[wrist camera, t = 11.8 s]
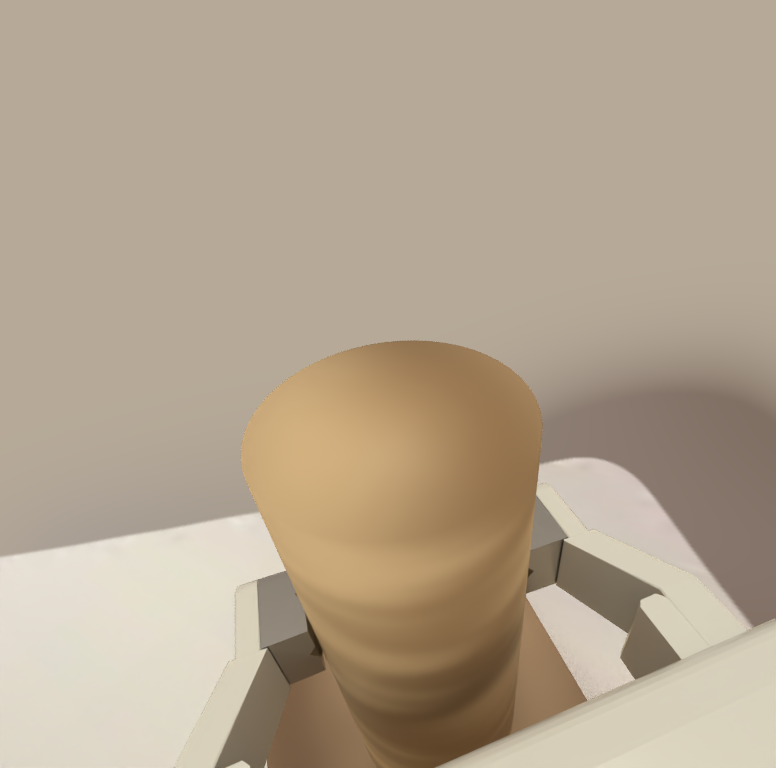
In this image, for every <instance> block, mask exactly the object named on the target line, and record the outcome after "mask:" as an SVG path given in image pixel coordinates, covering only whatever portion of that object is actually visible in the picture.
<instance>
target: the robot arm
mask: <svg viewBox="0 0 776 768" xmlns="http://www.w3.org/2000/svg"><path fill="white" fill-rule="evenodd" d="M555 583H557V584H556V585H557V586H558V587H560V588H561V589H563V590H564V591H566V592H567V593H569V594H570V595H572V596H573V597H575V598H576V599H578V600H579V601H581V602H582V603H584V604H585V605H587V606H588V607H590V608H591V609H593V610H594V611H596V612H597V613H598V614H600V615H601V616H603V617H604V618H606V619H607V620H609V621H610V622H612V623H613V624H615V625H616V626H618V627H619V628H621V629H622V630H624V631H625V632H627V633H628V635H627V638H626V640H625V643H624V646H623V648H622V651H621V657H620V658H621V659H622V661H623V662H624V664H625V665H626V667H627V668H628V670H629V671H630V673H631V674H632V676H633V677H634V678H635V680H633V681H631V682H629V683H627V684H624V685H622V686H620V687H618V688H615V689H613V690H611V691H608V692H606V693H604V694H602V695H599V696H597V697H595V698H592V699H590V700H588V701H586V702H583V703H581V704H579V705H577V706H574V707H572V708H570V709H567V710H565V711H563V712H561V713H558V714H556V715H554V716H551V717H549V718H547V719H545V720H542V721H540V722H538V723H535V724H533V725H531V726H529V727H526V728H524V729H522V730H520V731H517V732H515V733H513V734H510V735H508V736H506V737H504V738H501V739H499V740H497V741H494V742H492V743H490V744H488V745H485V746H483V747H481V748H479V749H476V750H474V751H472V752H469V753H467V754H465V755H463V756H460V757H458V758H456V759H453V760H451V761H449V762H447V763H444V764H442V765H440V766H437V767H435V768H776V618H775V619H773V620H770V621H768V622H766V623H763V624H761V625H759V626H757V627H754V628H752V629H750V630H747V629H746V628H745V627H744V626H743V625H742V624H741V623H740V622H739V621H738V620H737V619H736V618H735V617H734V616H733V615H732V613H731V612H730V611H729V610H728V609H727V608H726V607H725V606H724V605H723V604H722V603H721V602H720V601H719V600H718V599H717V598H716V597H715V596H714V595H713V594H712V593H711V592H710V591H709V590H708V589H707V588H706V587H705V586H704V585H703V584H702V583H701V582H700V581H699V580H698V579H697V578H696V576H694V575H691V574H689V573H687V572H685V571H683V570H681V569H679V568H676V567H674V566H672V565H670V564H668V563H666V562H664V561H661V560H659V559H657V558H655V557H653V556H651V555H649V554H646V553H644V552H642V551H640V550H638V549H636V548H634V547H631V546H629V545H627V544H625V543H623V542H621V541H619V540H616V539H614V538H612V537H610V536H608V535H606V534H604V533H601V532H599V531H597V530H595V529H591V530H587V528H586V527H585V526H584V525H583V524H582V522H581V521H580V520H579V519H578V518H577V516H576V515H575V514H574V513H573V512H572V510H571V509H570V508H569V507H568V506H567V505H566V503H565V502H564V501H563V500H562V499H561V497H560V496H559V495H558V494H557V493H556V491H555V490H554V489H553V488H552V487H551V485H549V484H547V483H542V484H539V485H537V491H536V500H535V510H534V520H533V530H532V539H531V549H530V559H529V569H528V578H527V588H526V594H527V593H529V592H532V591H535V590H538V589H541V588H544V587H547V586H549V585H552V584H555ZM325 670H326V668H325V662H324V656H323V651H322V648H321V646H320V644H319V642H318V640H317V637H316V635H315V633H314V631H313V629H312V626H311V624H310V622H309V620H308V617H307V615H306V613H305V611H304V609H303V606H302V604H301V602H300V600H299V598H298V595H297V593H296V591H295V589H294V587H293V584H292V582H291V580H290V578H289V575H288V573H287V571H283V572H280V573H277V574H274V575H271V576H268V577H265V578H262V579H258V580H255V581H252V582H249V583H246V584H243V585H240V586H237V588H236V592H235V659H234V660H232V661H229V662H228V664H227V666H226V667H225V669H224V671H223V673H222V675H221V677H220V679H219V681H218V683H217V685H216V687H215V689H214V691H213V693H212V695H211V697H210V699H209V700H208V702H207V704H206V706H205V708H204V710H203V712H202V714H201V716H200V718H199V720H198V722H197V724H196V726H195V728H194V730H193V731H192V733H191V735H190V737H189V739H188V741H187V743H186V745H185V747H184V749H183V751H182V753H181V755H180V757H179V759H178V761H177V763H176V764H175V766H174V768H264V766H265V763H266V760H267V757H268V754H269V751H270V748H271V745H272V742H273V739H274V736H275V733H276V730H277V727H278V724H279V721H280V718H281V715H282V712H283V709H284V706H285V703H286V700H287V697H288V694H289V691H290V688H291V687H290V685H291V684H293V683H296V682H298V681H301V680H303V679H305V678H308V677H310V676H313V675H315V674H318V673H320V672H322V671H325Z"/></svg>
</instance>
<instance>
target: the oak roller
mask: <svg viewBox="0 0 776 768" xmlns="http://www.w3.org/2000/svg"><path fill="white" fill-rule="evenodd" d="M542 426H543V424H542V417H541V411H540V408H539V405H538V403H537V400H536V398H535V396H534V395H533V393H532V391H531V390H530V388H529V387H528V385H527V384H526V383H525V382H524V381H523V380H522V379H521V378H520V377H519V376H518V375H517V374H516V373H515V372H514V371H512V370H511V369H510V368H509V367H507V366H506V365H504V364H502V363H501V362H499V361H498V360H496V359H493V358H492V357H489V356H488V355H485V354H483V353H480V352H478V351H475V350H472V349H469V348H465V347H461V346H457V345H452V344H447V343H440V342H432V341H395V342H384V343H378V344H371V345H366V346H362V347H357V348H354V349H350V350H347V351H343V352H340V353H337V354H335V355H332V356H329V357H327V358H324V359H322V360H320V361H318V362H316V363H314V364H312V365H310V366H308V367H306V368H304V369H302V370H300V371H299V372H297V373H296V374H294V375H293V376H291V377H290V378H289V379H287V380H286V381H284V382H283V383H282V384H281V385H279V386H278V387H277V388H276V389H275V390H274V391H273V392H272V393H271V394H269V395H268V396H267V397H266V399H265V400H264V401H263V402H262V403H261V405H260V406H259V407H258V408H257V410H256V412H255V413H254V415H253V416H252V418H251V420H250V422H249V424H248V426H247V428H246V431H245V434H244V438H243V441H242V448H241V463H242V470H243V473H244V476H245V479H246V482H247V485H248V487H249V489H250V491H251V493H252V496H253V498H254V500H255V502H256V505H257V507H258V509H259V511H260V514H261V516H262V518H263V520H264V522H265V525H266V527H267V529H268V531H269V533H270V536H271V538H272V540H273V542H274V544H275V547H276V549H277V551H278V553H279V556H280V558H281V560H282V562H283V564H284V567H285V569H286V571H287V573H288V575H289V578H290V580H291V582H292V584H293V587H294V589H295V591H296V593H297V595H298V598H299V600H300V602H301V604H302V606H303V609H304V611H305V613H306V615H307V617H308V620H309V622H310V624H311V626H312V629H313V631H314V633H315V635H316V637H317V640H318V642H319V644H320V646H321V648H322V651H323V653H324V655H325V657H326V660H327V662H328V664H329V666H330V668H331V671H332V673H333V675H334V677H335V679H336V682H337V684H338V686H339V688H340V690H341V693H342V695H343V697H344V699H345V702H346V704H347V706H348V708H349V710H350V713H351V715H352V717H353V719H354V721H355V724H356V726H357V728H358V730H359V733H360V735H361V737H362V739H363V741H364V744H365V746H366V748H367V750H368V752H369V754H370V756H371V758H372V760H373V761H374V763H375V764H376V766H377V767H378V768H435V767H437V766H440V765H442V764H444V763H447V762H449V761H451V760H453V759H456V758H458V757H460V756H463V755H465V754H467V753H469V752H472V751H474V750H476V749H479V748H481V747H483V746H485V745H488V744H490V743H492V742H494V741H497V740H499V739H501V738H504V737H506V736H508V735H510V734H511V732H512V725H513V715H514V705H515V696H516V686H517V676H518V666H519V657H520V647H521V637H522V627H523V618H524V608H525V598H526V588H527V578H528V569H529V559H530V549H531V539H532V530H533V520H534V510H535V500H536V491H537V481H538V471H539V461H540V452H541V442H542Z"/></svg>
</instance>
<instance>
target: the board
mask: <svg viewBox="0 0 776 768" xmlns="http://www.w3.org/2000/svg"><path fill="white" fill-rule="evenodd" d="M323 656H324V662H325V668H326V670H325V671H322V672H320V673H318V674H315V675H313V676H310V677H308V678H305V679H303V680H301V681H298V682H296V683H293V684H291V685H290V687H291V688H290V691H289V694H288V697H287V700H286V703H285V706H284V709H283V712H282V715H281V718H280V721H279V724H278V727H277V730H276V733H275V736H274V739H273V742H272V745H271V748H270V751H269V754H268V757H267V766H268V768H378V767H377V766H376V764H375V763H374V761H373V760H372V758H371V756H370V754H369V752H368V750H367V748H366V746H365V744H364V741H363V739H362V737H361V735H360V733H359V730H358V728H357V726H356V724H355V721H354V719H353V717H352V715H351V713H350V710H349V708H348V706H347V704H346V702H345V699H344V697H343V695H342V693H341V690H340V688H339V686H338V684H337V682H336V679H335V677H334V675H333V673H332V671H331V668H330V666H329V664H328V662H327V660H326V657H325V655H324V653H323ZM586 701H587V699H586V698H585V696H584V694H583V693H582V691H581V689H580V688H579V686H578V684H577V683H576V681H575V679H574V677H573V676H572V674H571V672H570V671H569V669H568V667H567V666H566V664H565V662H564V661H563V659H562V657H561V655H560V654H559V652H558V650H557V649H556V647H555V645H554V644H553V642H552V640H551V639H550V637H549V635H548V633H547V632H546V630H545V628H544V627H543V625H542V623H541V622H540V620H539V618H538V617H537V615H536V613H535V611H534V610H533V608H532V606H531V605H530V603H529V601H528V600H527V598H525V608H524V618H523V627H522V637H521V647H520V657H519V666H518V676H517V686H516V696H515V705H514V715H513V725H512V732H511V734H513V733H515V732H517V731H520V730H522V729H524V728H526V727H529V726H531V725H533V724H535V723H538V722H540V721H542V720H545V719H547V718H549V717H551V716H554V715H556V714H558V713H561V712H563V711H565V710H567V709H570V708H572V707H574V706H577V705H579V704H581V703H583V702H586Z"/></svg>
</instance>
